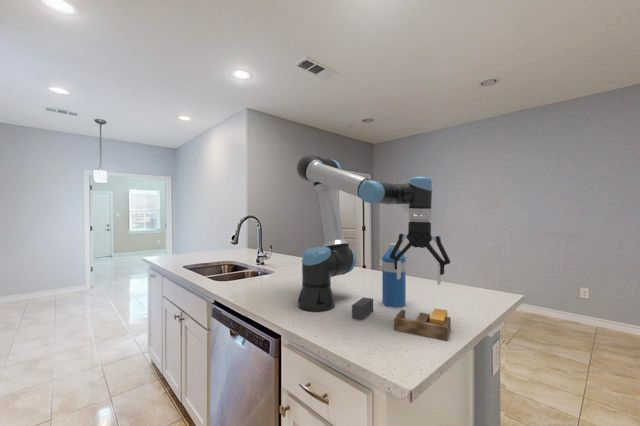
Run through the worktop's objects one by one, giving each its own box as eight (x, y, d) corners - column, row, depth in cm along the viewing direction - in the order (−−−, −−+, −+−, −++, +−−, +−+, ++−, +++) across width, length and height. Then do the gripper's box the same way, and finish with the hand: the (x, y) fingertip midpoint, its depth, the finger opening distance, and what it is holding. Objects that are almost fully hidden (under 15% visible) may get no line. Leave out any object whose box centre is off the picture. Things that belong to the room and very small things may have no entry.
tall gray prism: (352, 318, 103) (352, 304, 103) (363, 310, 113) (363, 297, 113) (362, 320, 101) (362, 306, 101) (373, 311, 111) (373, 298, 111)
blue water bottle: (406, 308, 114) (406, 245, 114) (382, 306, 116) (382, 245, 116) (404, 301, 123) (404, 243, 124) (382, 299, 125) (382, 242, 125)
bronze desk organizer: (394, 330, 93) (394, 318, 93) (401, 320, 101) (401, 309, 101) (447, 340, 85) (447, 328, 85) (450, 329, 94) (450, 317, 94)
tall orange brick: (429, 334, 90) (429, 318, 90) (434, 322, 100) (434, 308, 100) (443, 337, 88) (443, 320, 88) (447, 324, 98) (447, 310, 98)
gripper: (381, 220, 104) (380, 278, 104) (458, 222, 92) (456, 288, 92) (387, 219, 110) (386, 274, 111) (459, 222, 98) (458, 283, 98)
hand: (418, 281), depth 101 cm, fingers open, 13 cm apart
